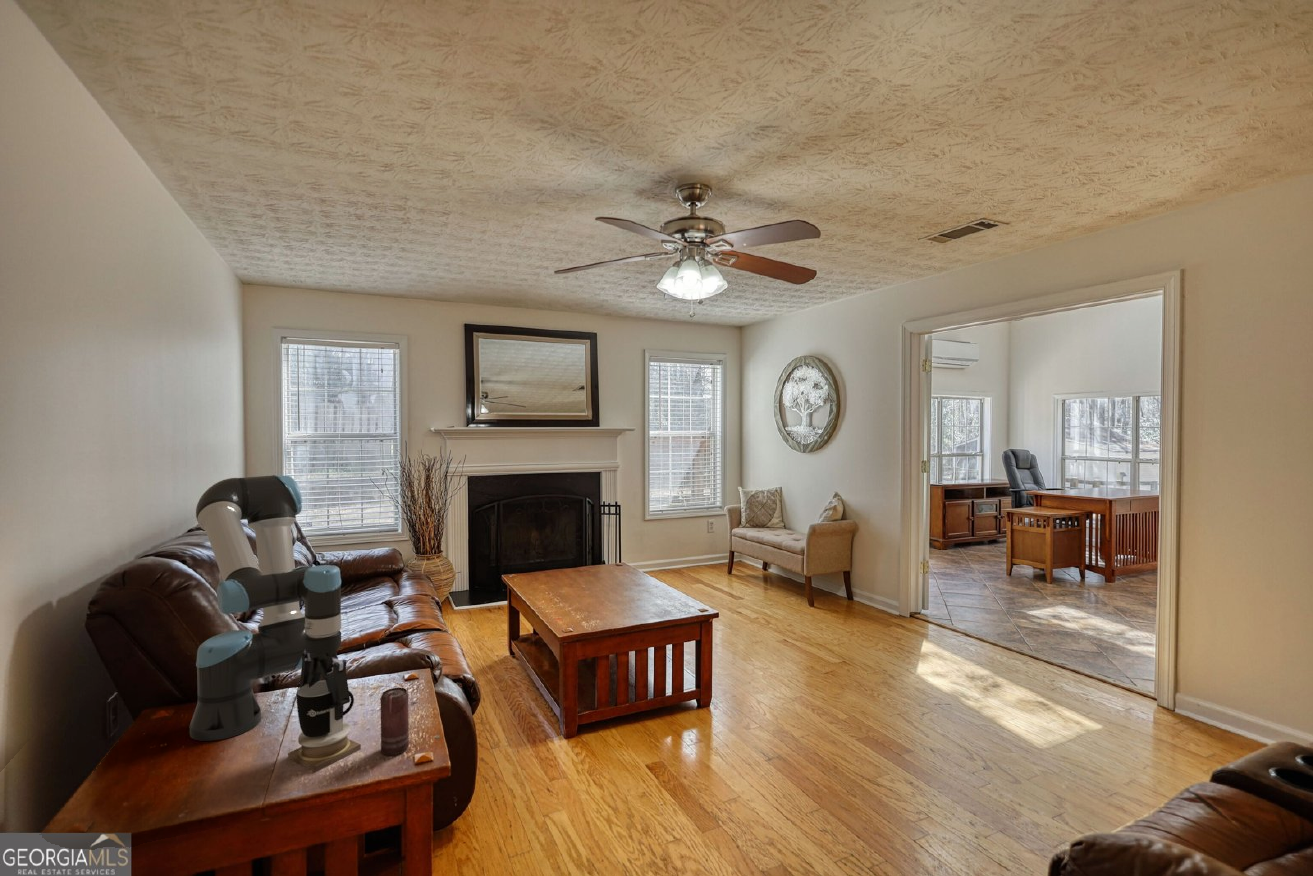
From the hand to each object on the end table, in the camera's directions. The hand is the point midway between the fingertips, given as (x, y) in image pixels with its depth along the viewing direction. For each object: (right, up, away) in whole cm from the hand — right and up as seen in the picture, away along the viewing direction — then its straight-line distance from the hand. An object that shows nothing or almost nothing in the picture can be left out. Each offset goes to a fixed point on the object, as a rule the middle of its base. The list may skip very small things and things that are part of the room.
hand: (324, 727), depth 148 cm
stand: (0, -6, 0) cm, 6 cm away
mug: (+1, 0, 0) cm, 1 cm away
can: (+16, -7, +2) cm, 17 cm away
